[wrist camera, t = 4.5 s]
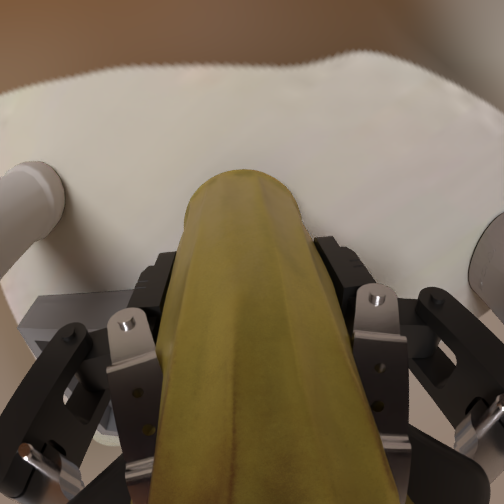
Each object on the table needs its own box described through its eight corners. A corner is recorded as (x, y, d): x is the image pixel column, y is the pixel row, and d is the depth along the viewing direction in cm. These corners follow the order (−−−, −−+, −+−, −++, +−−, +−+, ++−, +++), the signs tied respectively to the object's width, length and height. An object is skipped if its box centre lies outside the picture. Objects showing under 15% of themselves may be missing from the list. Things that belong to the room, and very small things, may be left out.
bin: (227, 281, 19) (228, 321, 16) (247, 404, 27) (250, 437, 24) (38, 296, 19) (17, 327, 15) (108, 405, 27) (101, 434, 23)
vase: (257, 289, 17) (293, 549, 5) (165, 241, 16) (84, 531, 3) (321, 209, 15) (483, 479, 3) (223, 145, 13) (184, 562, 1)
